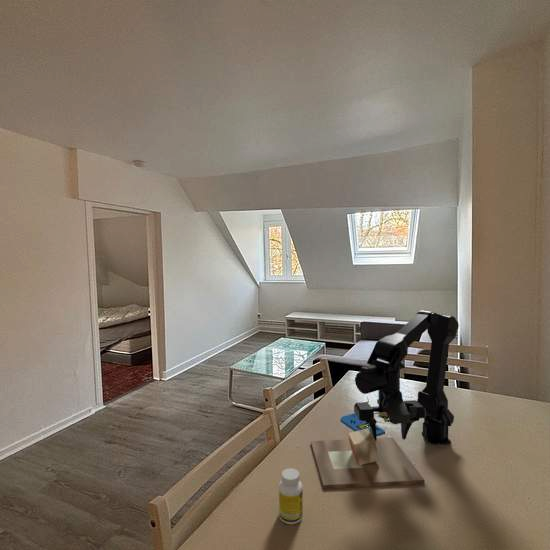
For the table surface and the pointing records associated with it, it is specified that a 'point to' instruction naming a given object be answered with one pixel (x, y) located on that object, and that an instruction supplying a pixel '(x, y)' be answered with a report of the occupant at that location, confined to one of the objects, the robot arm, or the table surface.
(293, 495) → the supplement bottle
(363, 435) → the beech block
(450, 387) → the table surface
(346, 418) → the handheld gaming device
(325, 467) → the walnut board
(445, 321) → the robot arm
